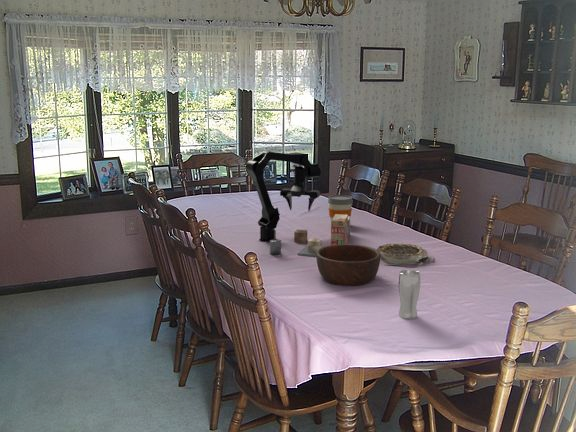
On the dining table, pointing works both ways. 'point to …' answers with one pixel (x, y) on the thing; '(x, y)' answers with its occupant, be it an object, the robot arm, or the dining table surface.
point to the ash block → (314, 244)
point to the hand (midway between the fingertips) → (299, 210)
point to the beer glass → (409, 293)
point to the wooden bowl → (348, 264)
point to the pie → (403, 254)
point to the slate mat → (306, 253)
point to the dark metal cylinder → (275, 247)
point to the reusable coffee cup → (340, 205)
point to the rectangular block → (300, 236)
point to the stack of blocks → (340, 229)
